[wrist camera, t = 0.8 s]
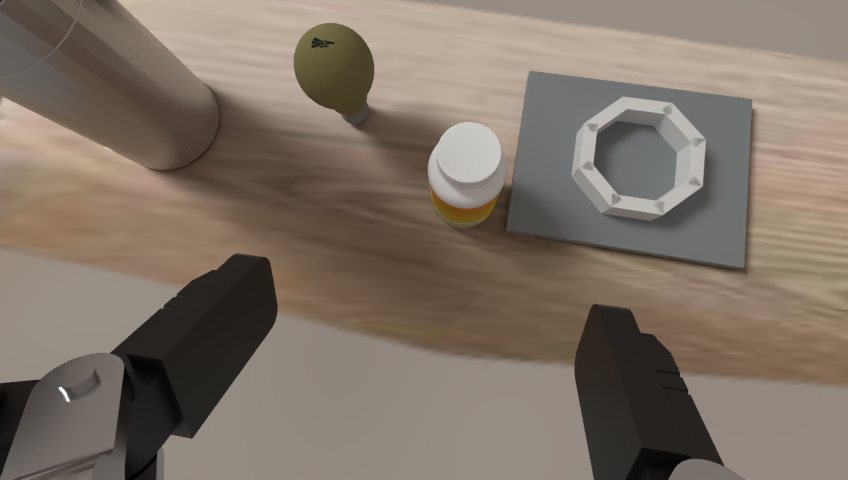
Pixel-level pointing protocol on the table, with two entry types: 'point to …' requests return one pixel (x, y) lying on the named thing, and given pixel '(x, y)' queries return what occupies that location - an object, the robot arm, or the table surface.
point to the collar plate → (633, 169)
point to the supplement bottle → (466, 174)
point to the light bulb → (335, 69)
